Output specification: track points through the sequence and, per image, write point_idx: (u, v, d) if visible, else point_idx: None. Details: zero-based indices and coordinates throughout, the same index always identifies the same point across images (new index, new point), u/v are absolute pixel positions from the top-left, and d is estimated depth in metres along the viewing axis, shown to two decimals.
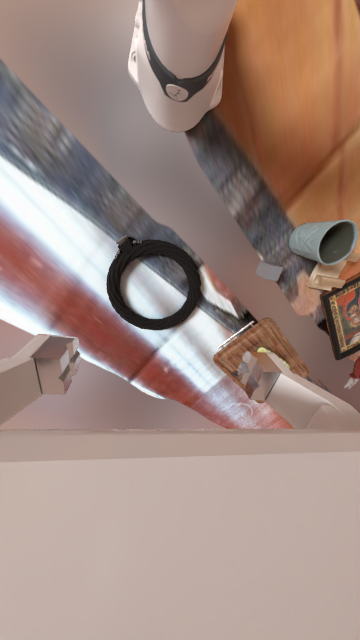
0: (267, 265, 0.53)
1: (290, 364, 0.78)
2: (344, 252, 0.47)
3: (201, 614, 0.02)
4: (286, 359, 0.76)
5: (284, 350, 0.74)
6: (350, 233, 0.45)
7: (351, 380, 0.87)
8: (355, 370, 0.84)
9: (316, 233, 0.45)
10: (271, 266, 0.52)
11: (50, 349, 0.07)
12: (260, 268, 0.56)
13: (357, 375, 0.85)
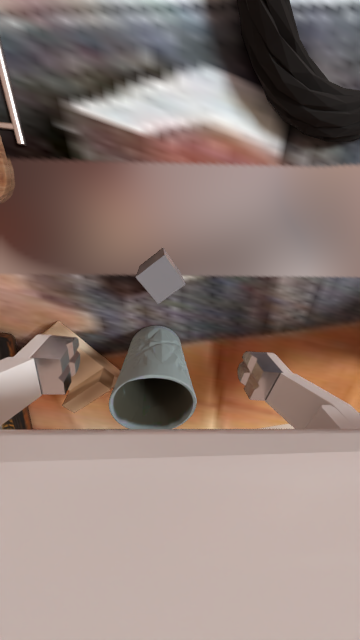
0: (182, 278, 0.23)
1: None
2: (119, 408, 0.23)
3: (201, 614, 0.02)
4: None
5: None
6: (147, 419, 0.25)
7: None
8: None
9: None
10: (180, 284, 0.21)
11: (50, 349, 0.07)
12: (173, 263, 0.24)
13: None
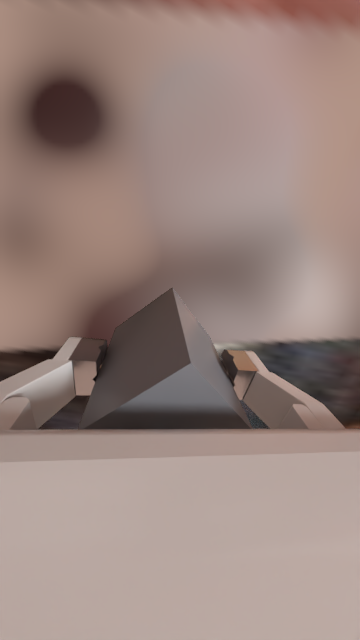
0: (234, 394, 0.07)
1: None
2: None
3: (201, 614, 0.02)
4: None
5: None
6: None
7: None
8: None
9: None
10: None
11: (84, 351, 0.07)
12: (200, 331, 0.09)
13: None
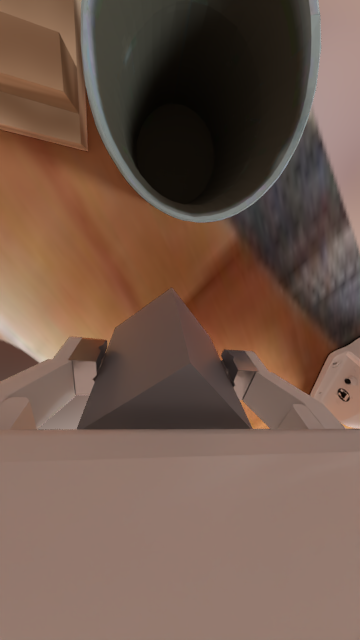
0: (234, 394, 0.07)
1: None
2: (107, 15, 0.07)
3: (201, 614, 0.02)
4: None
5: None
6: (126, 158, 0.10)
7: None
8: None
9: None
10: None
11: (84, 351, 0.07)
12: (199, 331, 0.09)
13: None
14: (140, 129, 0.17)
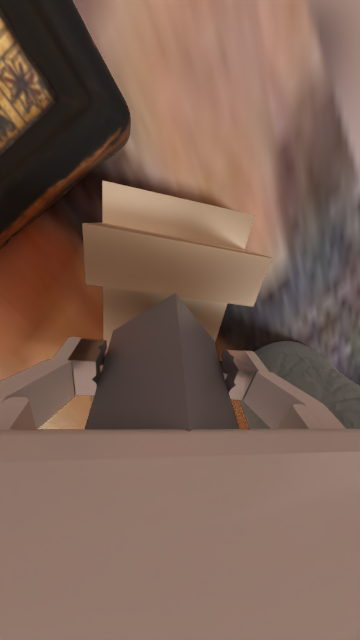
0: (234, 423, 0.07)
1: None
2: None
3: (201, 614, 0.02)
4: None
5: None
6: None
7: None
8: None
9: None
10: None
11: (84, 351, 0.07)
12: (203, 345, 0.09)
13: None
14: None
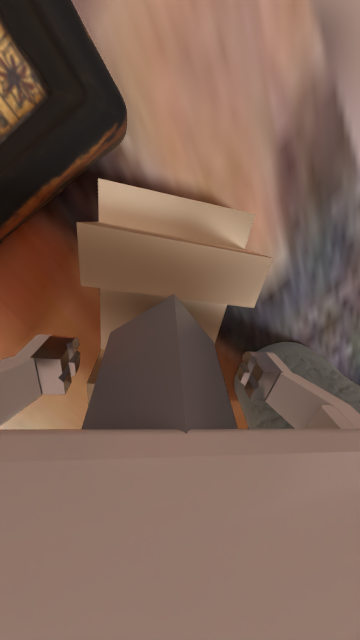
0: None
1: None
2: None
3: (201, 614, 0.02)
4: None
5: None
6: None
7: None
8: None
9: None
10: None
11: (50, 349, 0.07)
12: (202, 348, 0.08)
13: None
14: None
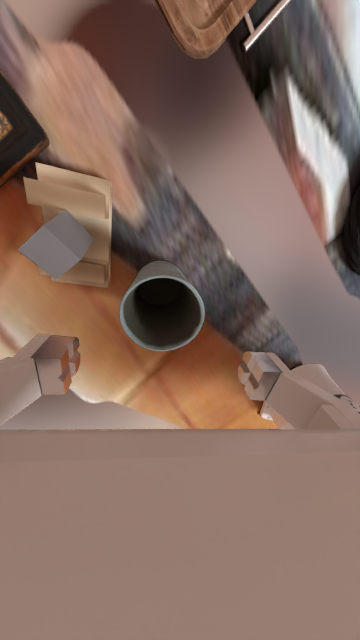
0: (81, 251, 0.20)
1: None
2: (127, 297, 0.22)
3: (201, 614, 0.02)
4: None
5: None
6: (133, 328, 0.24)
7: None
8: None
9: None
10: (75, 259, 0.19)
11: (50, 349, 0.07)
12: (77, 230, 0.21)
13: None
14: None
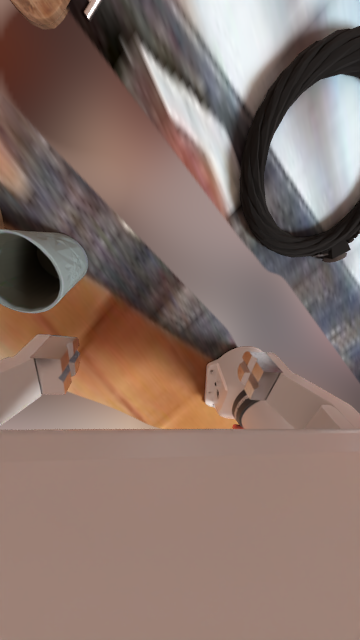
0: None
1: None
2: None
3: (201, 614, 0.02)
4: None
5: None
6: (0, 289, 0.25)
7: None
8: None
9: (68, 285, 0.26)
10: None
11: (50, 349, 0.07)
12: None
13: None
14: (36, 247, 0.31)
